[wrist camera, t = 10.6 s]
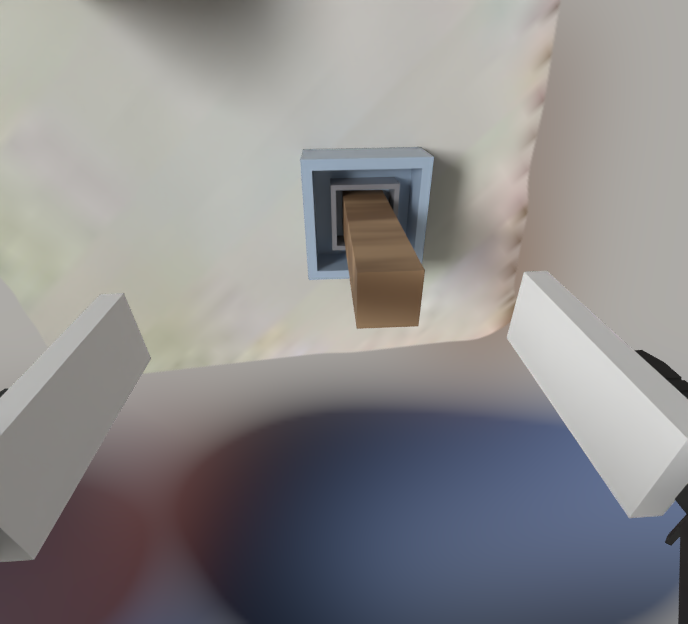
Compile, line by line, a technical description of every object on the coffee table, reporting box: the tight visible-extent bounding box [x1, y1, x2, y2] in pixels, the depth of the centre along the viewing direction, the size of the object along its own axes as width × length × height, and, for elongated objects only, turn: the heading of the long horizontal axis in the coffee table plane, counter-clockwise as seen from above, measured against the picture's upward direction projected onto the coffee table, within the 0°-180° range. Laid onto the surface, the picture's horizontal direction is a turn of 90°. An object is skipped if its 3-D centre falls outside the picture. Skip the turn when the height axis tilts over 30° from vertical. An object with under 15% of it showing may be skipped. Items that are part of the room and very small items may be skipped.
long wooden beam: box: [342, 190, 425, 329], centre depth 27 cm, size 4×4×16 cm
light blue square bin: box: [300, 147, 434, 280], centre depth 32 cm, size 10×10×4 cm
